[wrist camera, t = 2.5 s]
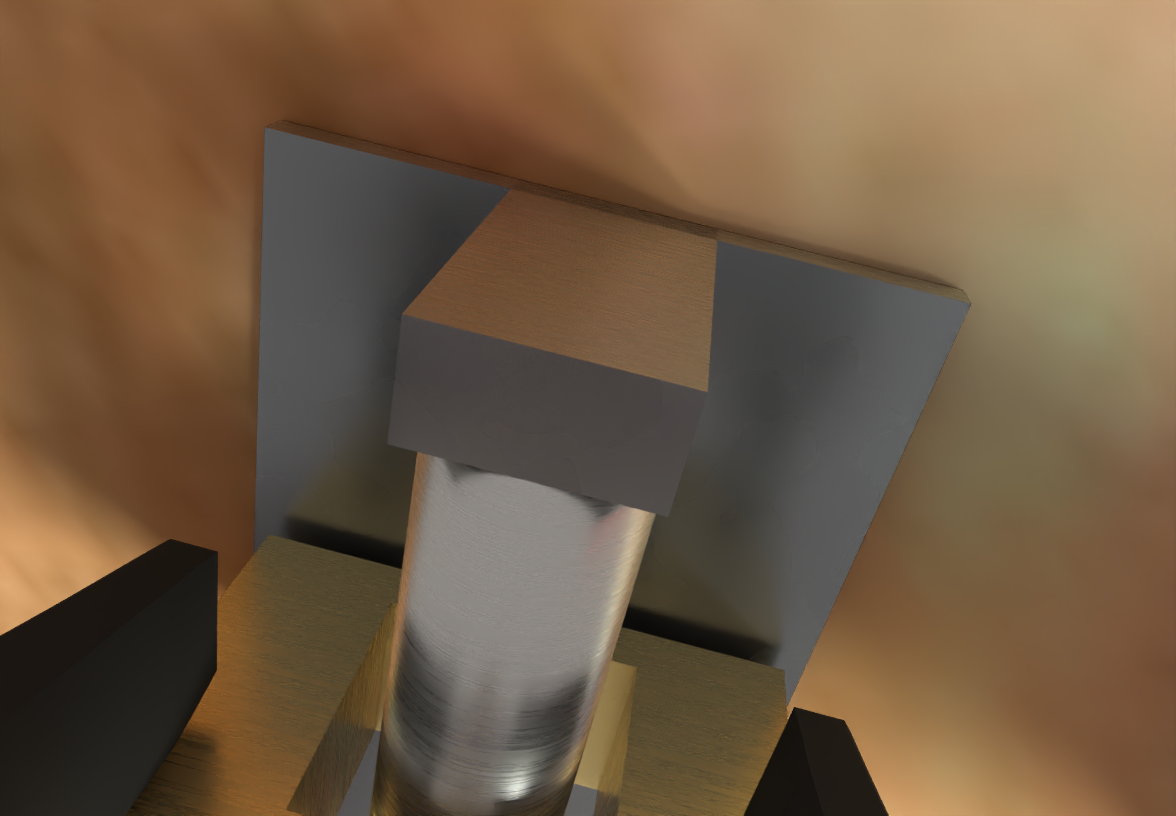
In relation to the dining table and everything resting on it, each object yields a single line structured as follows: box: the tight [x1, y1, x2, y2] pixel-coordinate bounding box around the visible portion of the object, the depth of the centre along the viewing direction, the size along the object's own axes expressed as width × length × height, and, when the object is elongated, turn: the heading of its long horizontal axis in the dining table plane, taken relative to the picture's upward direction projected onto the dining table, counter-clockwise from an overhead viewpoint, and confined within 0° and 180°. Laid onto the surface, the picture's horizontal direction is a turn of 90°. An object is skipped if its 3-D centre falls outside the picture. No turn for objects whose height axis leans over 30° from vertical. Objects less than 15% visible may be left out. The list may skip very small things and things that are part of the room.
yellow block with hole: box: [125, 534, 788, 816], centre depth 13 cm, size 3×9×6 cm, turn 78°
